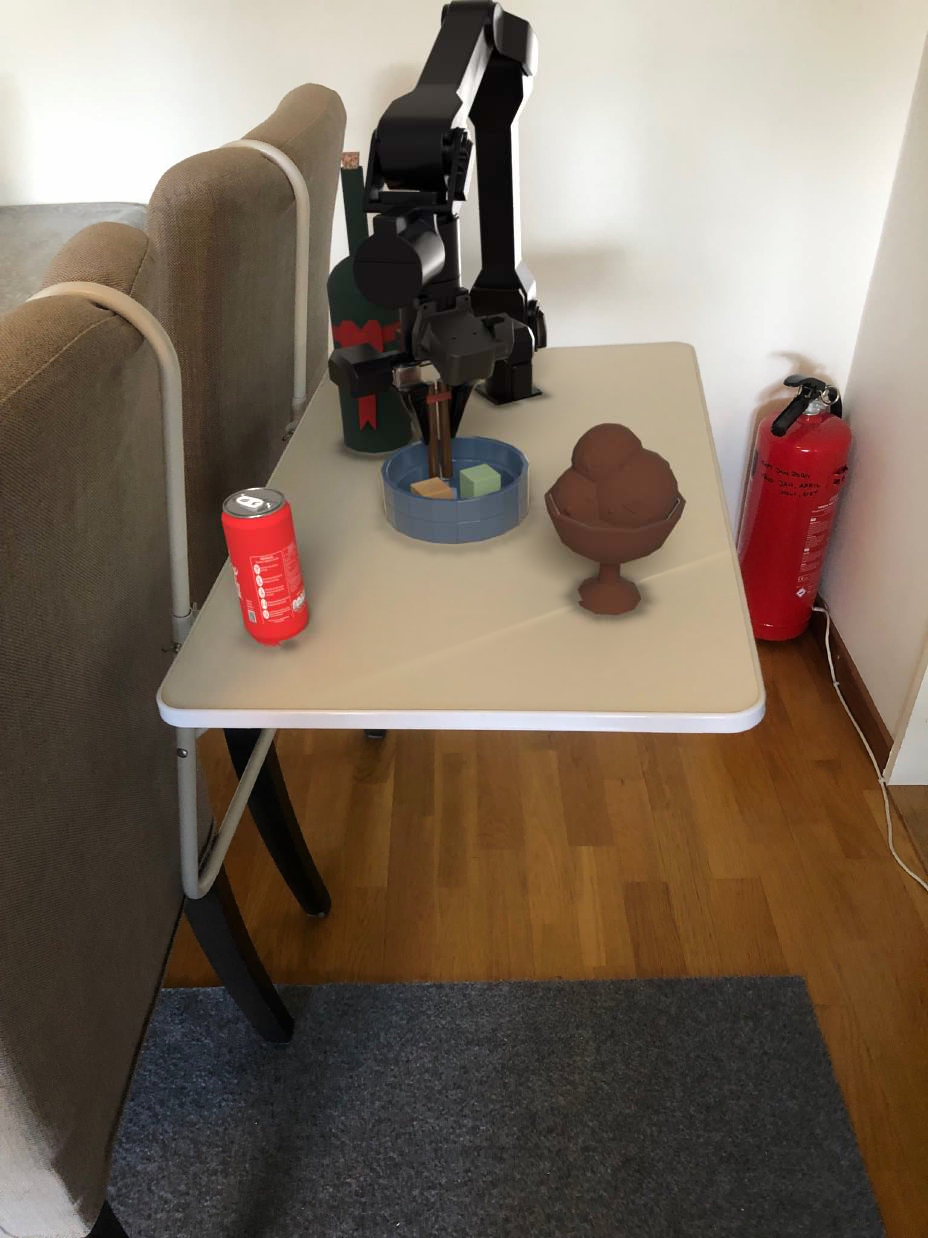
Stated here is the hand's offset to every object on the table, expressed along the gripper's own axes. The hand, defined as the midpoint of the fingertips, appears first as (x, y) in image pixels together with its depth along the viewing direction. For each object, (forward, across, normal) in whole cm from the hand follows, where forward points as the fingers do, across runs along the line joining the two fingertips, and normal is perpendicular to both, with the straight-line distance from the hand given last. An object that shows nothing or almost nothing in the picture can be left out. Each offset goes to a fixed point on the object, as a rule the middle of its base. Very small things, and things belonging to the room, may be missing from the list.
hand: (438, 440), depth 89 cm
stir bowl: (+7, 0, -3) cm, 7 cm away
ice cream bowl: (+7, +4, -23) cm, 24 cm away
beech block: (+6, -2, -3) cm, 7 cm away
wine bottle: (+7, 0, +16) cm, 17 cm away
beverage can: (+7, -22, -13) cm, 26 cm away
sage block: (+6, +3, -3) cm, 7 cm away
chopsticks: (+4, 0, 0) cm, 4 cm away
